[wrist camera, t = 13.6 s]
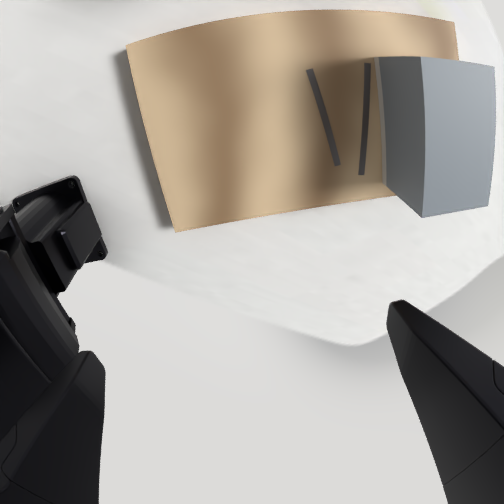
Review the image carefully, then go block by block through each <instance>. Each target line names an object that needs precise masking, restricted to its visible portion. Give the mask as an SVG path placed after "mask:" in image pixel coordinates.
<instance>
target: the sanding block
mask: <svg viewBox="0 0 504 504" xmlns="http://www.w3.org/2000/svg"><path fill="white" fill-rule="evenodd" d="M374 62H375V70H376V79H377V88H378V99H379V111H380V125H381V144H382V183H383V184H384V185H385V186H387V187H388V188H389V189H390V190H391V191H392V192H394V193H395V194H396V195H397V196H398V197H399V198H400V199H402V200H403V201H404V202H405V203H406V204H407V205H408V206H409V207H410V208H412V209H413V210H414V211H415V212H416V213H417V214H418V215H419V216H420V217H421V218H424V217H430V216H435V215H441V214H446V213H452V212H458V211H463V210H469V209H474V208H480V207H485V206H488V202H489V195H490V188H491V180H492V171H493V161H494V148H495V128H496V90H495V70H494V67H493V66H488V65H482V64H477V63H471V62H464V61H457V60H450V59H441V58H432V57H420V56H387V57H374Z"/></svg>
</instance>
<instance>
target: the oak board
mask: <svg viewBox="0 0 504 504" xmlns="http://www.w3.org/2000/svg"><path fill="white" fill-rule="evenodd" d="M126 50H127V54H128V59H129V64H130V68H131V73H132V77H133V82H134V86H135V90H136V94H137V99H138V103H139V107H140V111H141V115H142V119H143V123H144V127H145V130H146V134H147V138H148V142H149V145H150V149H151V153H152V156H153V160H154V163H155V167H156V171H157V174H158V178H159V181H160V184H161V188H162V191H163V194H164V198H165V201H166V204H167V208H168V211H169V214H170V217H171V221H172V224H173V227H174V230H175V232H181V231H186V230H191V229H196V228H201V227H207V226H212V225H217V224H223V223H228V222H234V221H239V220H245V219H250V218H256V217H262V216H268V215H273V214H279V213H285V212H291V211H297V210H303V209H309V208H316V207H322V206H328V205H335V204H341V203H348V202H354V201H361V200H368V199H375V198H382V197H389V196H396V194H395V193H394V192H392V191H391V190H390V189H389V188H388V187H387V186H385V185H384V184H383V183H382V144H381V125H380V111H379V99H378V88H377V79H376V70H375V62H374V57H387V56H420V57H432V58H441V59H450V60H457V61H459V57H458V48H457V39H456V32H455V25H454V22H450V21H445V20H440V19H435V18H429V17H423V16H416V15H409V14H401V13H391V12H380V11H364V10H303V11H287V12H275V13H266V14H257V15H249V16H242V17H236V18H230V19H224V20H219V21H213V22H208V23H204V24H199V25H195V26H190V27H186V28H182V29H178V30H174V31H170V32H167V33H163V34H160V35H156V36H153V37H150V38H146V39H143V40H140V41H137V42H134V43H131V44H128V45H126Z"/></svg>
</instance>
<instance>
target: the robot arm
mask: <svg viewBox="0 0 504 504" xmlns="http://www.w3.org/2000/svg"><path fill="white" fill-rule="evenodd" d="M71 181H73V182H74V183H75V186H73V185H72V184H71ZM18 202H19V204H20V205H19V204H18ZM13 207H14V209H15V211H14V209H13ZM15 212H16V215H14V213H15ZM101 235H102V233H101V231H100V228H99V226H98V223H97V221H96V218H95V216H94V213H93V211H92V208H91V205H90V204H89V203H88V202H87V199H86V196H85V193H84V191H83V188H82V185H81V182H80V180H79V178H78V177H77V176H74V175H73V176H69V177H67V178H64V179H61V180H58V181H56V182H53V183H50V184H48V185H45V186H42V187H40V188H37V189H35V190H32V191H30V192H27V193H25V194H22V195H20V196H18V197H16V198H15V199H14V200H13V206H12V204H9V205H7V206H4V207H0V504H99V473H100V457H101V444H102V433H103V423H104V408H105V407H104V406H105V368H104V366H103V365H102V363H101V362H100V361H99V360H98V358H97V357H96V355H95V354H94V353H93V352H92V351H81V352H79V353H78V351H79V344H78V339H77V336H76V334H75V326H76V325H75V323H74V321H73V320H72V318H71V317H69V316H68V315H67V313H66V311H65V310H64V308H63V307H62V305H61V303H60V302H59V300H58V298H57V296H58V295H59V293H60V292H64V291H65V290H66V288H67V287H68V285H69V284H70V282H71V280H72V279H73V277H74V275H75V274H76V272H77V270H79V269H81V267H82V266H83V264H84V263H89V262H93V261H98V260H103V259H105V257H106V256H107V253H108V251H107V248H106V246H105V244H104V241H103V239H102V237H101ZM99 251H101V252H102V253H103V254H101V253H99ZM386 325H387V330H388V334H389V337H390V340H391V343H392V346H393V349H394V352H395V355H396V359H397V362H398V366H399V369H400V372H401V375H402V377H403V380H404V382H405V384H406V387H407V389H408V392H409V394H410V397H411V399H412V401H413V404H414V407H415V409H416V412H417V414H418V417H419V419H420V422H421V424H422V427H423V430H424V432H425V435H426V438H427V441H428V443H429V446H430V449H431V452H432V455H433V457H434V460H435V463H436V466H437V469H438V472H439V475H440V478H441V481H442V484H443V488H444V491H445V495H446V498H447V501H448V504H504V367H503V366H502V365H501V364H499V363H498V362H496V361H495V360H493V361H492V358H490V357H489V356H488V355H486V354H484V353H483V352H482V351H480V350H479V349H477V348H476V347H474V346H473V345H472V344H470V343H468V342H467V341H466V340H464V339H463V338H461V337H460V336H458V335H457V334H455V333H454V332H452V331H451V330H449V329H448V328H446V327H445V326H443V325H442V324H440V323H439V322H437V321H436V320H434V319H433V318H431V317H430V316H428V315H427V314H425V313H424V312H422V311H421V310H419V309H418V308H416V307H414V306H413V305H411V304H410V303H408V302H407V301H405V300H398V301H394V302H391V303H390V305H389V309H388V316H387V322H386Z"/></svg>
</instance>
